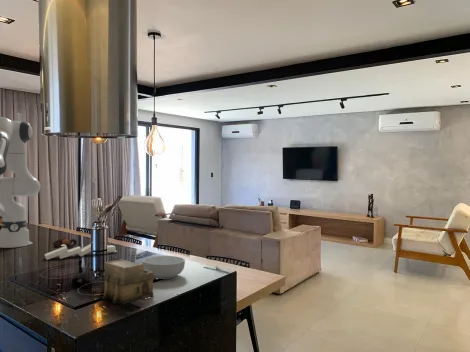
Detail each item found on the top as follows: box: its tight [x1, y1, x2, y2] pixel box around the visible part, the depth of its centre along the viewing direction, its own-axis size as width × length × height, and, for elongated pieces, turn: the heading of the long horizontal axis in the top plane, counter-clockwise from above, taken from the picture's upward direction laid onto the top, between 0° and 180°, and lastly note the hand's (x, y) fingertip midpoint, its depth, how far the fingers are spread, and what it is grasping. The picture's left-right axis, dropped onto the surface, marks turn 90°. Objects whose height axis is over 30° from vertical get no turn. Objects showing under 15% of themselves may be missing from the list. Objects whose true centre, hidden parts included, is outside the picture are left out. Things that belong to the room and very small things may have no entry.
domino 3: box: [77, 243, 92, 257], centre depth 182 cm, size 2×5×10 cm
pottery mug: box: [52, 237, 78, 250], centre depth 191 cm, size 12×9×8 cm
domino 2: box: [58, 246, 82, 260], centre depth 176 cm, size 2×5×10 cm
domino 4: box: [106, 244, 116, 251], centre depth 186 cm, size 2×5×10 cm
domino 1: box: [44, 245, 68, 261], centre depth 173 cm, size 2×5×10 cm
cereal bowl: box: [142, 255, 186, 280], centre depth 143 cm, size 17×17×7 cm
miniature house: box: [102, 258, 155, 305], centre depth 120 cm, size 15×14×11 cm
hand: (9, 219), depth 163 cm, fingers closed
